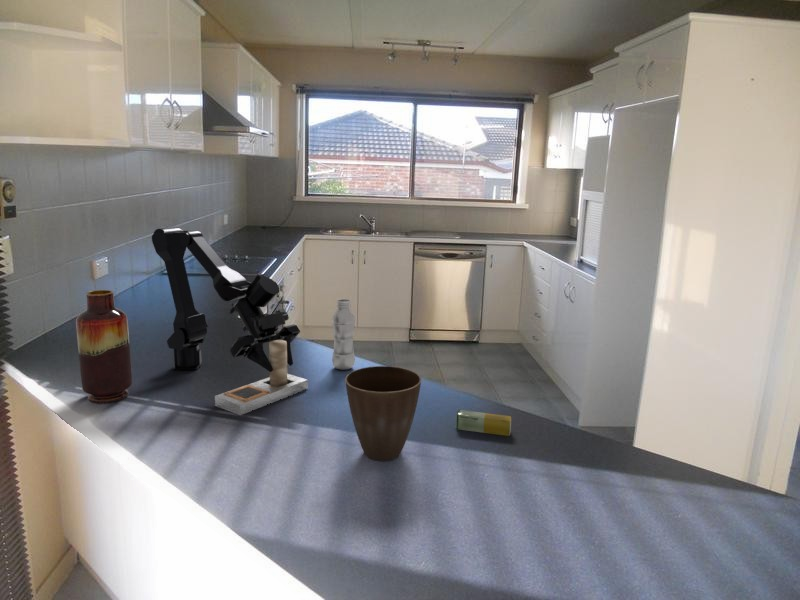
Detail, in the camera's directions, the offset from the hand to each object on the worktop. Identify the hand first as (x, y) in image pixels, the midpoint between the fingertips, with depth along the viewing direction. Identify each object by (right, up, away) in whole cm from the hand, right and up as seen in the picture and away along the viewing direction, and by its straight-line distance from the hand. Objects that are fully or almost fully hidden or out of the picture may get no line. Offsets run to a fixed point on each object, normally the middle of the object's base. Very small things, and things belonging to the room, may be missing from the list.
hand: (281, 367), depth 151 cm
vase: (-42, -7, -4) cm, 43 cm away
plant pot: (+26, -14, -30) cm, 42 cm away
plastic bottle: (+14, -3, +21) cm, 25 cm away
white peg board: (-4, -7, -2) cm, 8 cm away
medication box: (+48, -12, -18) cm, 53 cm away
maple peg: (-1, -6, +2) cm, 7 cm away
